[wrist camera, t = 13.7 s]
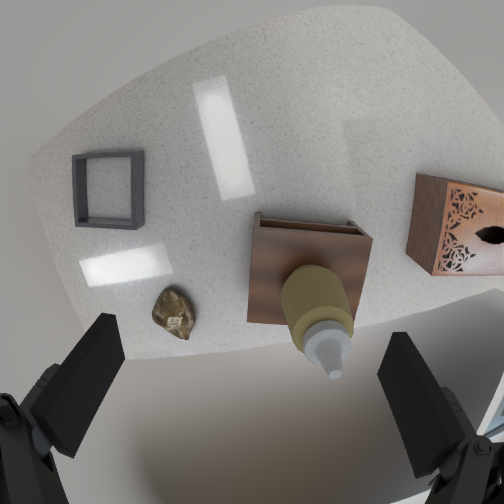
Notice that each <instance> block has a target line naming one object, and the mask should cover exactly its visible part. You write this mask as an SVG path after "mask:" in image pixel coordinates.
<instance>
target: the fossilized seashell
mask: <svg viewBox="0 0 504 504" xmlns="http://www.w3.org/2000/svg"><path fill="white" fill-rule="evenodd" d="M152 316H153V320H154V322H155V323H156V324H158V325H160V326H162V327H163V328H164V329H165V330H167V331H168V332H170V333H171V334H173V335H175V336H176V337H178V338H180V339H185V340H188V339H189V335H190V332H191V329H192V328H193V326H194V324H195V320H196V318H195V313H194V309H193V306H192V304H191V303H190V301H189V300H188V299H187V298H186V297H184V296H183V295H182V294H180V293H178V292H176V291H174V290H173V289H171V288H167V289H165V290H164V291H163V292H162V293H161V294H160V296H159V298H158V300H157V301H156V304H155V306H154V309H153V311H152Z"/></svg>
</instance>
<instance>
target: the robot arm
mask: <svg viewBox="0 0 504 504" xmlns="http://www.w3.org/2000/svg"><path fill="white" fill-rule="evenodd" d="M124 360H125V356H124V352H123V347H122V343H121V339H120V334H119V330H118V325H117V320H116V315H113V314H107V313H101V315H100V316H99V317H98V318H97V319H96V321H95V322H94V323H93V324H92V326H91V327H90V328H89V329H88V331H87V332H86V333H85V335H84V336H83V337H82V338H81V340H80V341H79V342H78V343H77V345H76V346H75V347H74V348H73V350H72V351H71V352H70V354H69V355H68V356H67V357H66V359H65V360H64V361H63V363H62V364H61V365H59V364H56V363H55V364H53V365H52V366H51V367H49V368H47V369H46V370H45V372H44V373H43V374H42V376H41V377H40V379H38V381H37V382H36V383H35V385H34V386H33V388H32V389H31V390H30V392H29V393H28V394H27V396H26V397H25V398H24V400H23V401H22V403H21V404H20V406H19V405H18V404H17V402H16V401H15V399H14V398H13V397H12V396H11V395H10V394H7V393H1V394H0V504H69V502H68V500H67V497H66V495H65V492H64V489H63V487H62V484H61V481H60V478H59V475H58V472H57V468H56V465H55V462H54V458H53V455H52V453H51V451H50V449H51V447H52V445H53V446H54V447H55V448H56V450H57V451H58V452H60V453H61V454H64V455H66V456H68V457H71V458H74V456H75V454H76V452H77V450H78V448H79V446H80V444H81V442H82V440H83V438H84V436H85V434H86V432H87V430H88V428H89V426H90V424H91V422H92V420H93V418H94V416H95V414H96V412H97V410H98V408H99V406H100V404H101V402H102V401H103V398H104V397H105V395H106V393H107V391H108V389H109V387H110V385H111V383H112V382H113V380H114V378H115V376H116V374H117V372H118V370H119V369H120V367H121V365H122V364H123V361H124ZM377 375H378V378H379V380H380V383H381V385H382V388H383V390H384V393H385V395H386V398H387V400H388V402H389V405H390V408H391V410H392V413H393V416H394V418H395V421H396V424H397V426H398V429H399V432H400V434H401V437H402V440H403V443H404V446H405V448H406V451H407V454H408V457H409V460H410V463H411V465H412V469H413V472H414V475H415V478H416V479H417V478H420V477H423V476H427V475H430V474H432V473H433V472H434V471H435V470H436V469H437V468H438V467H439V470H440V473H439V474H438V475H437V476H436V477H435V478H434V479H433V480H432V481H431V482H430V483H429V484H428V485H429V486H430V485H432V484H433V483H434V485H433V487H432V489H431V492H430V494H429V496H428V498H427V500H426V502H425V504H504V442H499V443H492V442H491V441H490V440H489V438H487V437H485V436H481V435H477V434H476V432H475V430H474V428H473V426H472V424H471V423H470V421H469V419H468V417H467V415H466V414H465V412H464V411H463V408H462V407H461V405H460V404H459V401H458V400H457V398H456V396H455V394H454V393H453V392H452V391H451V390H449V389H448V388H447V387H442V388H440V387H439V385H438V383H437V381H436V380H435V378H434V376H433V374H432V373H431V371H430V369H429V368H428V366H427V364H426V363H425V361H424V359H423V358H422V356H421V354H420V353H419V351H418V350H417V348H416V347H415V345H414V344H413V342H412V340H411V339H410V337H409V336H408V334H407V333H406V332H393V333H392V336H391V340H390V342H389V345H388V347H387V350H386V353H385V355H384V358H383V360H382V363H381V365H380V368H379V370H378V373H377ZM500 479H501V484H500Z"/></svg>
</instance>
